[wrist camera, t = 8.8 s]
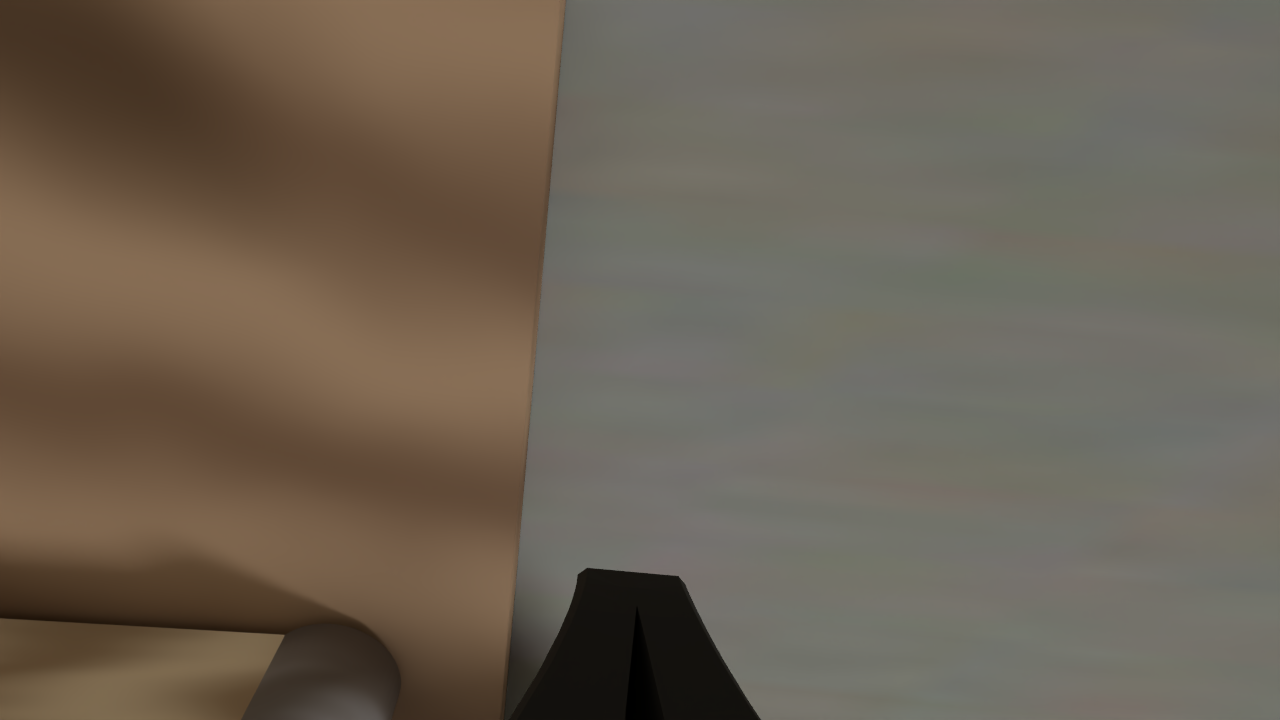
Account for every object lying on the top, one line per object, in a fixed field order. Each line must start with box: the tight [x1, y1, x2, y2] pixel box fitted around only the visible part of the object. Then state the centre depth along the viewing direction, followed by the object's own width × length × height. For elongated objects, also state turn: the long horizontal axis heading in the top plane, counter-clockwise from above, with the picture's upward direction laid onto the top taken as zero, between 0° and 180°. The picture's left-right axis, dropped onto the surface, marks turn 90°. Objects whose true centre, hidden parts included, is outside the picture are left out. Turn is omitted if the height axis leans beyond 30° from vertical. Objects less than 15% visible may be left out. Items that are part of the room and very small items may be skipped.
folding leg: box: [0, 618, 401, 720], centre depth 20 cm, size 15×3×3 cm, turn 85°
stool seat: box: [0, 0, 566, 720], centre depth 18 cm, size 20×20×5 cm
